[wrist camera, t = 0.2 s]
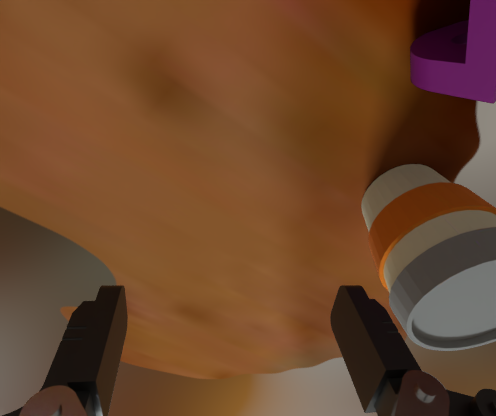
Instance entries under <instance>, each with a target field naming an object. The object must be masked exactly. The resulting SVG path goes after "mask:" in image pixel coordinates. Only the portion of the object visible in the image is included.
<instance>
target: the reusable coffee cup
mask: <svg viewBox="0 0 496 416" xmlns="http://www.w3.org/2000/svg"><path fill="white" fill-rule="evenodd" d="M361 207H362V213H363V216H364V219H365V222H366V225H367V228H368V231H369V237H368V240H369V247H370V250H371V253H372V256H373V259H374V262H375V265H376V268H377V271H378V274H379V277H380V280H381V282H382V284H383V286H384V287H385V288H386V289H387V290H388V291H389V293H390V295H389V302H390V307H391V309H392V311H393V313H394V314H395V316H396V317H397V319H398V321H399V322H400V324H401V325H402V327H403V328H404V330H405V332H406V333H407V335H408V336H409V338H410V339H411V340H412V341H413V342H414V343H415V344H417V345H419V346H421V347H424V348H427V349H431V350H440V351H452V350H462V349H469V348H473V347H477V346H481V345H485V344H488V343H491V342H494V341H496V208H495V207H493V206H492V205H491V204H489V203H488V202H486V201H485V200H483V199H482V198H480V197H479V196H478V195H476V194H475V193H473V192H472V191H471V190H469V189H467V188H466V187H464V186H462V185H459V184H455V183H451V182H450V181H448V180H447V179H446V178H444V177H443V176H441V175H440V174H439V173H437V172H436V171H434V170H433V169H431V168H430V167H428V166H425V165H421V164H407V165H402V166H399V167H395V168H393V169H391V170H389V171H387V172H385V173H384V174H382V175H381V176H379V177H378V178H377V179H376V180H375V181H373V183H372V184H371V185H370V186H369V187H368V189H367V191H366V192H365V194H364V197H363V199H362V206H361Z"/></svg>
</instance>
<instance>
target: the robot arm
mask: <svg viewBox="0 0 496 416" xmlns="http://www.w3.org/2000/svg"><path fill="white" fill-rule="evenodd" d="M331 327H332V330H333V333H334V335H335V338H336V341H337V343H338V346H339V348H340V351H341V353H342V356H343V358H344V361H345V363H346V366H347V369H348V371H349V374H350V376H351V379H352V381H353V384H354V387H355V389H356V392H357V394H358V397H359V399H360V402H361V404H362V407H363V409H364V412H365V413H370V412H377V414H378V416H496V391H495V390H492V389H482V390H480V391H479V392H478V393H477V395H476V396H475V397H471V396H468V395H464V394H460V393H457V392H452V391H449V390H446V389H445V388H444V386H443V385H442V384H441V383H440V382H439V381H438V380H437V379H436V378H435V377H433V376H432V375H430V374H428V373H426V372H423V371H422V370H421V369H420V367H419V365H418V364H417V362H416V360H415V358H414V357H413V355H412V354H411V352H410V350H409V348H408V347H407V345H406V343H405V341H404V340H403V338H402V336H401V335H400V333H398V329H397V328H396V326H395V324H394V323H393V321H392V319H391V318H390V316H389V314H388V312H387V311H386V309H385V308H384V307H383V306H382V305H380V304H379V303H378V302H377V301H376V300H375V299H369V298H368V296H367V294H366V292H365V290H364V289H363V287H362V286H340V288H339V290H338V293H337V296H336V299H335V302H334V305H333V308H332V311H331ZM126 331H127V307H126V297H125V288H124V286H101V287H100V289H99V292H98V295H97V298H96V300H95V301H84V302H82V304H81V305H80V306H79V307H78V308H77V309H76V310H75V311H74V312H73V313H72V315H71V318H70V320H69V323H68V325H67V329H66V330H65V333H64V335H63V338H62V341H61V343H60V345H59V347H58V350H57V353H56V355H55V358H54V360H53V362H52V365H51V367H50V370H49V372H48V375H47V377H46V380H45V382H44V385H43V386H42V388H41V390H40V391H39V392H38V393H36V394H35V395H34V396H32V397H31V398H30V399H29V400H28V401H27V402H26V404H25V405H24V406H23V407H21V408H19V409H18V410H16V411H13V412H11V413H8V414H5V415H2V416H108V412H109V408H110V403H111V399H112V394H113V390H114V385H115V381H116V376H117V372H118V367H119V363H120V358H121V354H122V349H123V345H124V340H125V336H126Z"/></svg>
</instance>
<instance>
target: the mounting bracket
mask: <svg viewBox="0 0 496 416" xmlns="http://www.w3.org/2000/svg"><path fill="white" fill-rule="evenodd" d="M410 63H411V81H412V83H413V84H414V85H415V86H417V87H418V88H421V89H423V90H426V91H431V92H436V93H441V94H446V95H451V96H456V97H462V98H467V99H472V100H477V101H482V102H488V103H494V102H495V101H496V0H470V13H469V20H467V21H462V22H458V23H455V24H452V25H449V26H446V27H443V28H440V29H437V30H434V31H431V32H428V33H426V34H424V35H422V36H420V37H419V38H417V39H416V40H415V41H414V42H413V43H412V45H411V47H410Z"/></svg>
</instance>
